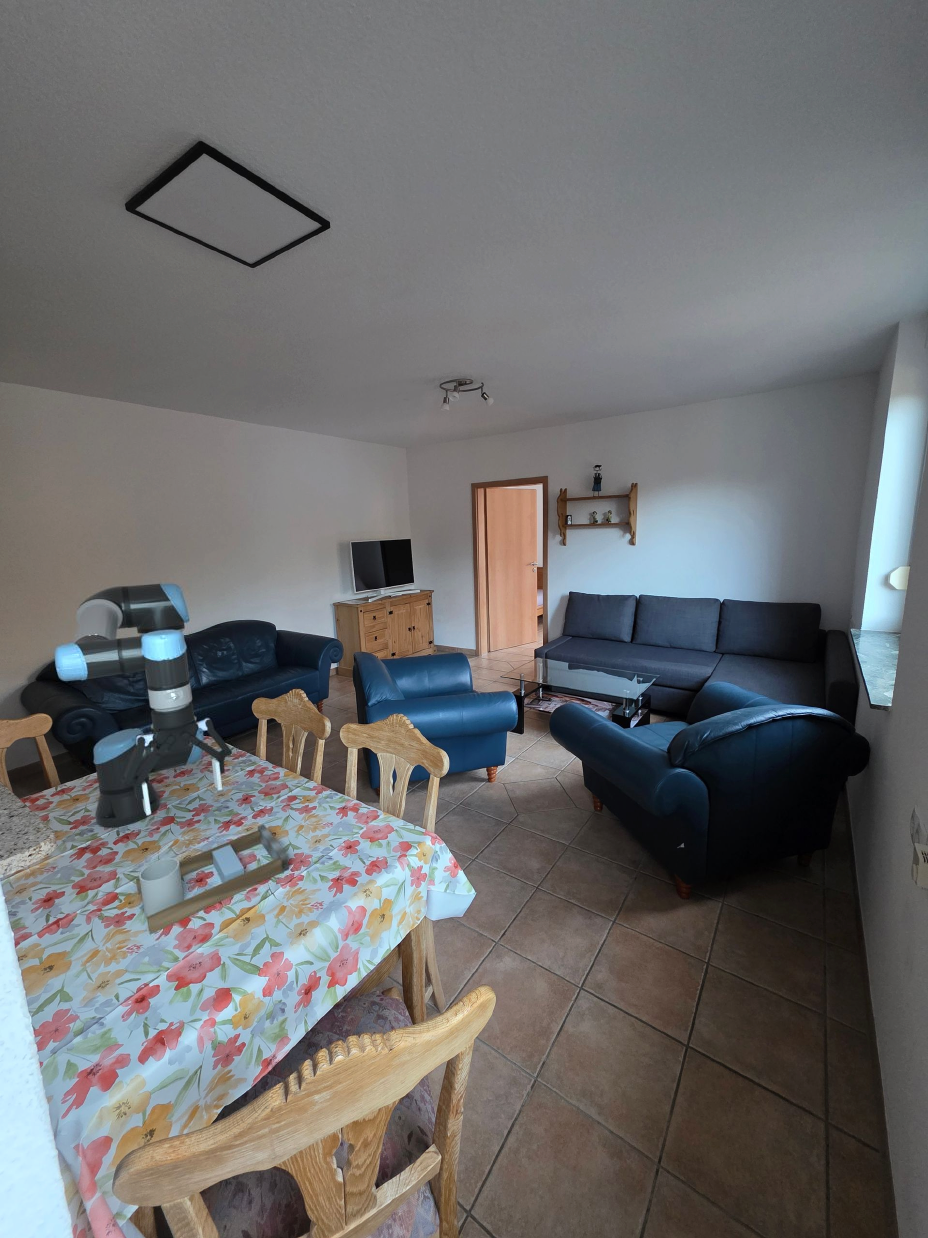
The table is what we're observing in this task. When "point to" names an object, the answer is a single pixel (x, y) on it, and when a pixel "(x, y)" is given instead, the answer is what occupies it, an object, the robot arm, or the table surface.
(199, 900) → the channel
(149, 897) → the cup
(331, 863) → the table surface
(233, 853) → the block
